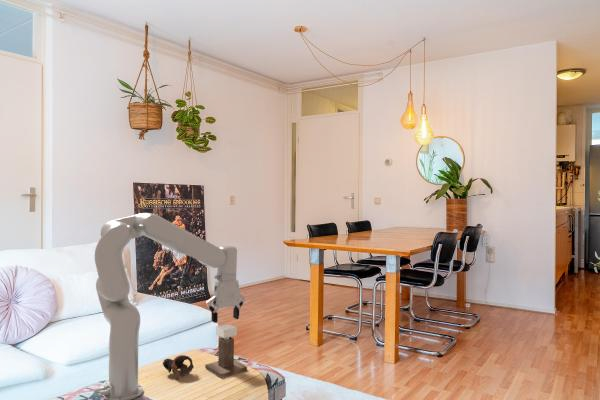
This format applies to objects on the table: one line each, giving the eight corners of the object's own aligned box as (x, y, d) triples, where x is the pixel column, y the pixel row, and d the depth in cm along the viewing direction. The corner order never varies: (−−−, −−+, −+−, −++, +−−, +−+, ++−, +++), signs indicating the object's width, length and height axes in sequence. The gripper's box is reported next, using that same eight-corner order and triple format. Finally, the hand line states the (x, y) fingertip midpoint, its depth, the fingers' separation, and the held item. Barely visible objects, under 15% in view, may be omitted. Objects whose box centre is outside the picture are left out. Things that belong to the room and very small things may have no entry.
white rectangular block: (223, 368, 171) (223, 330, 171) (215, 364, 176) (216, 326, 175) (236, 365, 175) (236, 327, 175) (228, 360, 179) (229, 324, 179)
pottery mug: (194, 369, 176) (197, 355, 172) (187, 389, 167) (190, 375, 164) (164, 362, 175) (167, 348, 171) (156, 381, 167) (158, 367, 163)
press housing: (220, 378, 167) (220, 345, 167) (205, 368, 176) (205, 337, 176) (246, 370, 175) (247, 339, 174) (231, 361, 184) (231, 331, 184)
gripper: (211, 280, 166) (210, 326, 166) (250, 276, 178) (248, 319, 177) (202, 277, 172) (201, 321, 172) (240, 274, 183) (239, 315, 183)
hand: (225, 320), depth 175 cm, fingers open, 9 cm apart
